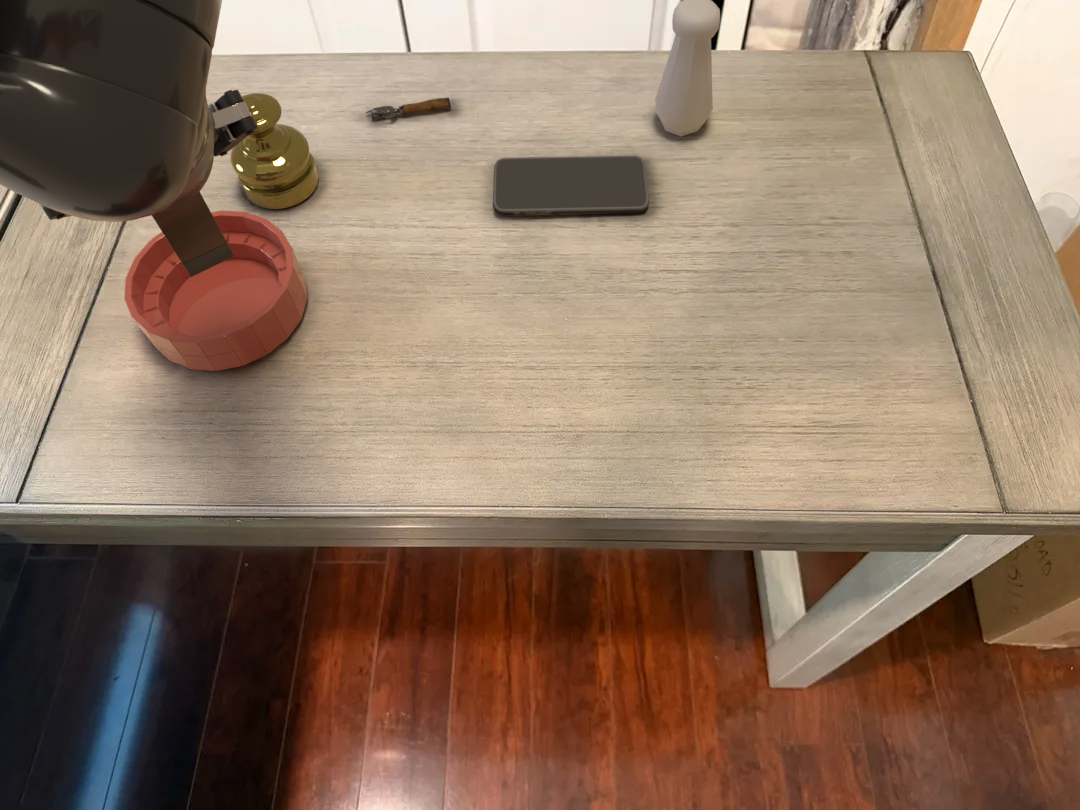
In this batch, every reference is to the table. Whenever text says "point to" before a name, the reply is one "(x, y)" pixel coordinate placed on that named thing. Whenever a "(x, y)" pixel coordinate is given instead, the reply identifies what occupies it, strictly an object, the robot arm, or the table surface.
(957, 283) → the table surface
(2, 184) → the robot arm
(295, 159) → the brass weight
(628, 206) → the smartphone
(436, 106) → the can opener
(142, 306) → the bowl
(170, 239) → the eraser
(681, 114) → the salt shaker
